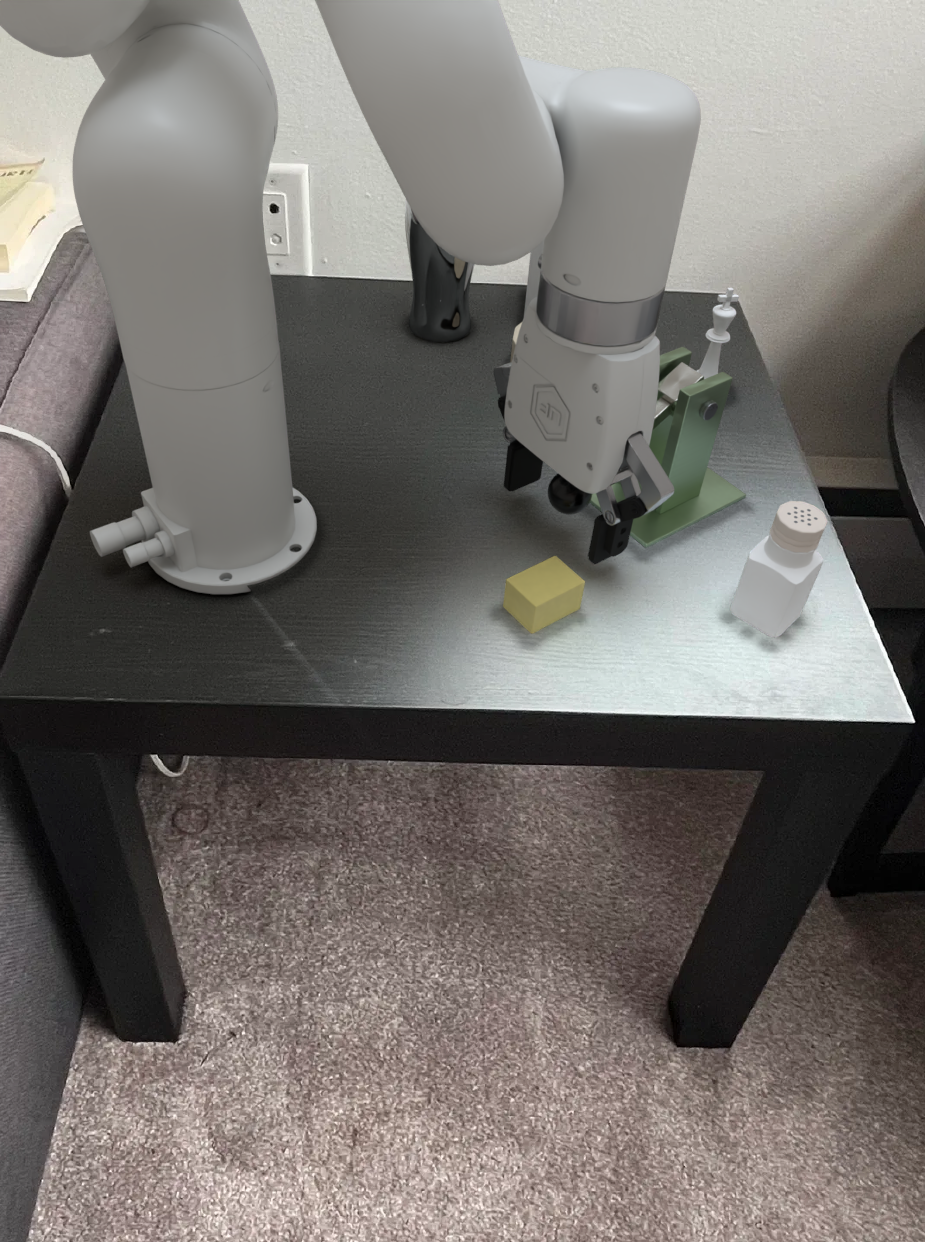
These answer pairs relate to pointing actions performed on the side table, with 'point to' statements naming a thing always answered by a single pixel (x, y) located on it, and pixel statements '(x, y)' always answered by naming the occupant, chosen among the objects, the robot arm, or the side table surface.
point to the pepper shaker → (781, 570)
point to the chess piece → (718, 333)
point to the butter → (543, 594)
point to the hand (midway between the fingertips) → (562, 518)
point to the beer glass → (436, 287)
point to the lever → (576, 500)
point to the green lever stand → (686, 457)
